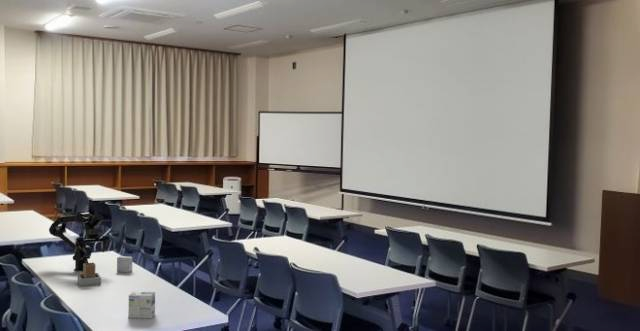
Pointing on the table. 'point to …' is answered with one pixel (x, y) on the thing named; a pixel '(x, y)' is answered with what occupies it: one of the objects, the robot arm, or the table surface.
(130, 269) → the medicine box
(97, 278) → the grey square tray
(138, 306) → the light bulb box
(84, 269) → the small crate
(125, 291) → the table surface
